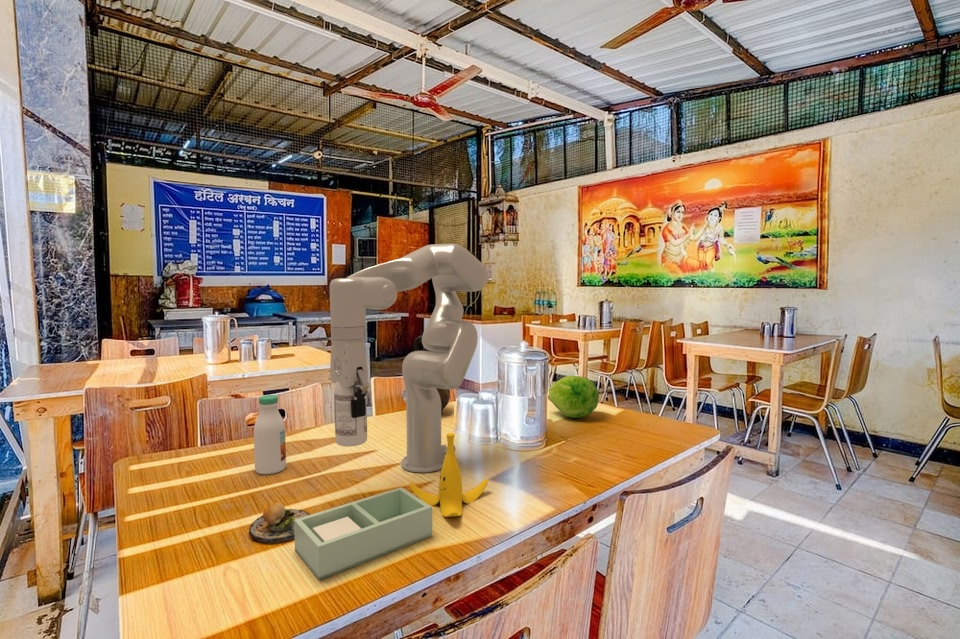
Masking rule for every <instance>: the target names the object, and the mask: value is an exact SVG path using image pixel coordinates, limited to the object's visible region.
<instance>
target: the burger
mask: <svg viewBox="0 0 960 639" xmlns="http://www.w3.org/2000/svg"><path fill="white" fill-rule="evenodd" d="M266 504H267V505H268V506H267V507H266V508H265V509H264V511H263V513H262V515H261V516H259V517H258V518H256V519H255V520H254V521H253V522H252V523H250V525H249V531H248V535H249V536H248V537H249V538H250V540H251V541H253V542H255V541H257V542H259V543H262V544H265V545H266V544H267V545H271V544H276V543H282V542H283V543H284V542H287V541H290V540H291V541H292V540H295V535H294V520H295V519H299V518H302V517H305V516H308V515H311V514H310V513H309V512H307V511H306V510H303V509H295V508H289V509H288V508H287V509H286V507H285V506H284V505H283V504H282V503H280V502H274V503H271V504H269V503H268V502H266Z"/></svg>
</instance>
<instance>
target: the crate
mask: <svg viewBox="0 0 960 639" xmlns="http://www.w3.org/2000/svg"><path fill="white" fill-rule="evenodd" d="M345 517H349V518H350V519H351V520H352V521H353V522H354V523H356V524H357V525H358V526H359V527H360V528H361V529H359V530H356V531H353V532H350V533H348V534H345V535H342V536H339V537H336V538H333V539H330V540H327V541H325V542H321V541H320V540H319V539H318V538H317V537H316V535H315V534H314V533H313V532H312V528H314V527H317V526H320V525H323V524H326V523H329V522H333V521H336V520H339V519H342V518H345ZM294 535H295V538H294V551H295V552H296V554H297V555H298V556H299V557H300V559H301V560H302V561H303V563H304V564H305V565H306V566H307V567H308V569H309V570H310V571H311V573H312V574H313V575H314V576H315V578H316V579H317V580H318V581H319V582H320V581H323V580H325V579H328V578H330V577H332V576H334V575H338V574H340V573H342V572H345V571H347V570H350V569H353V568H355V567H357V566H359V565H363V564H365V563H368V562H370V561H373V560H376V559H377V558H378V559H379V558H380V557H383V556H385V555H388V554H390V553H393V552H395V551H398V550H401V549H404V548H405V547H408V546H411V545H413V544H415V543H418V542H420V541H423V540H427V539H428V538H431V537H433V506H431V505H428V504H427V503H425V502H424V501H422V500H421V499H419V498H418V497H417V496H416V495H414V494H413V493H411V492H409V491H408V490H406V489H405V488H403V487H402V486H401V487H397V488H393V489H391V490H387V491H384V492H381V493H378V494H373V495H371V496H368V497H364V498H362V499H358V500H355V501H351V502H349V503H345V504H342V505H339V506H335V507H332V508H329V509H325V510H322V511H318V512H315V513H311V514H310V515H308V516H305V517H302V518H299V519H295V520H294Z"/></svg>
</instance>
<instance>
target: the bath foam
mask: <svg viewBox="0 0 960 639" xmlns="http://www.w3.org/2000/svg"><path fill="white" fill-rule="evenodd" d="M358 384H360V383H354V385H358ZM358 389H360V388H356V389H355V391H356V392H357V390H358ZM351 400H353V398H352V394H351V390H350V388H344V387H342V386H341V385H340V383H339V382H336V384H335V383H334V389H333V401H334V404H333V405H334V434H335V443H336V445H338V446H341V447H347V448H348V447H356V446H361V445H362V444H364V443H366V442H367V441H368V410H367V407H368V406H367V402H366V415H365V416H362V417H357V418H352V417H351Z"/></svg>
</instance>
